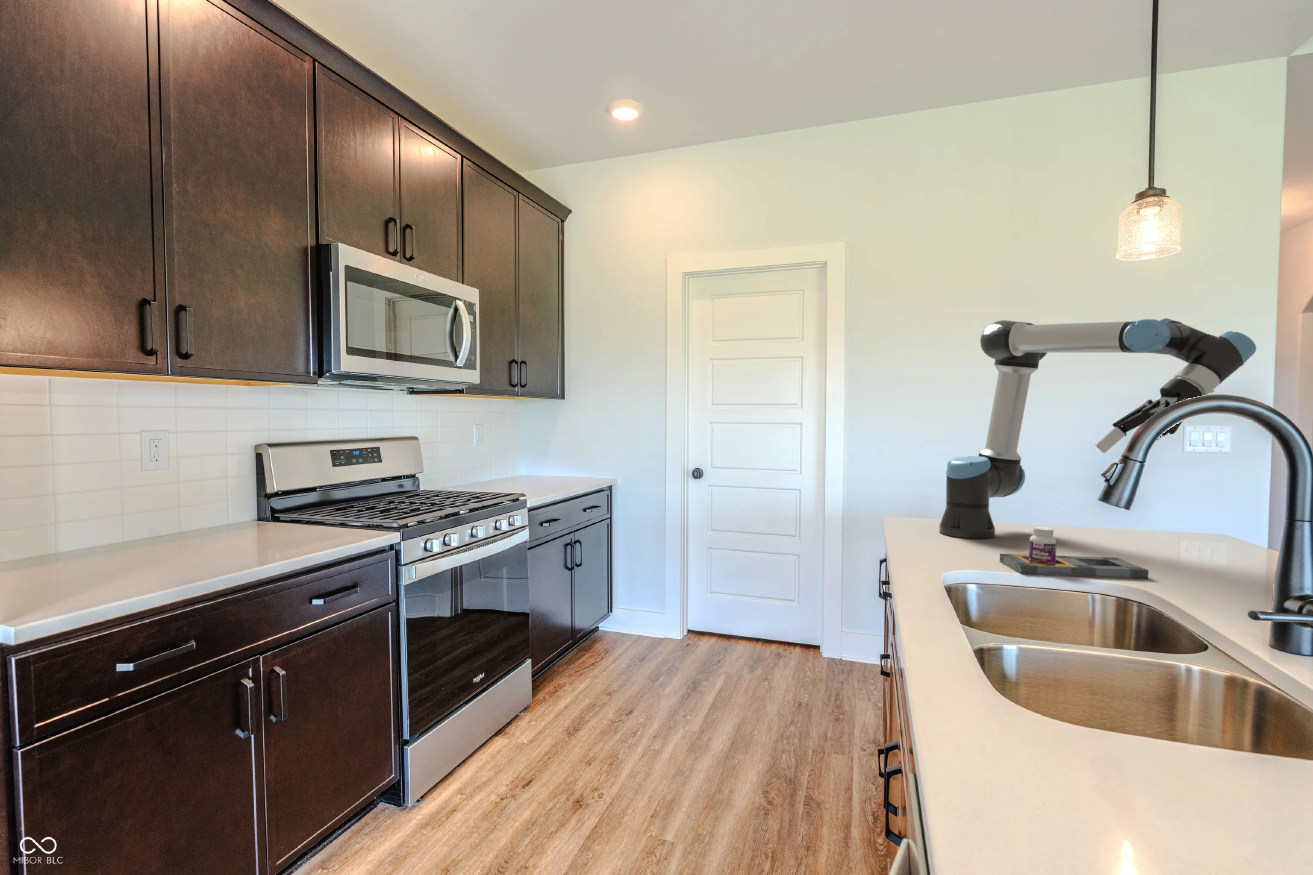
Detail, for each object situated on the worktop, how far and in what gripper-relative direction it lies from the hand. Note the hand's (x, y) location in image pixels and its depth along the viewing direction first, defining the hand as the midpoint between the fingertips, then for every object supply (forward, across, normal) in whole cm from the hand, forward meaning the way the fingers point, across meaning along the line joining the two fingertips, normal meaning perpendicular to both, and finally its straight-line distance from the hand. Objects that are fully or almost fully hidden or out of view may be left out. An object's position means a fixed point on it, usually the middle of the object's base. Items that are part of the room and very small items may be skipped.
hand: (1115, 450), depth 146 cm
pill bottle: (+33, -7, -7) cm, 34 cm away
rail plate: (+28, -7, -11) cm, 31 cm away
